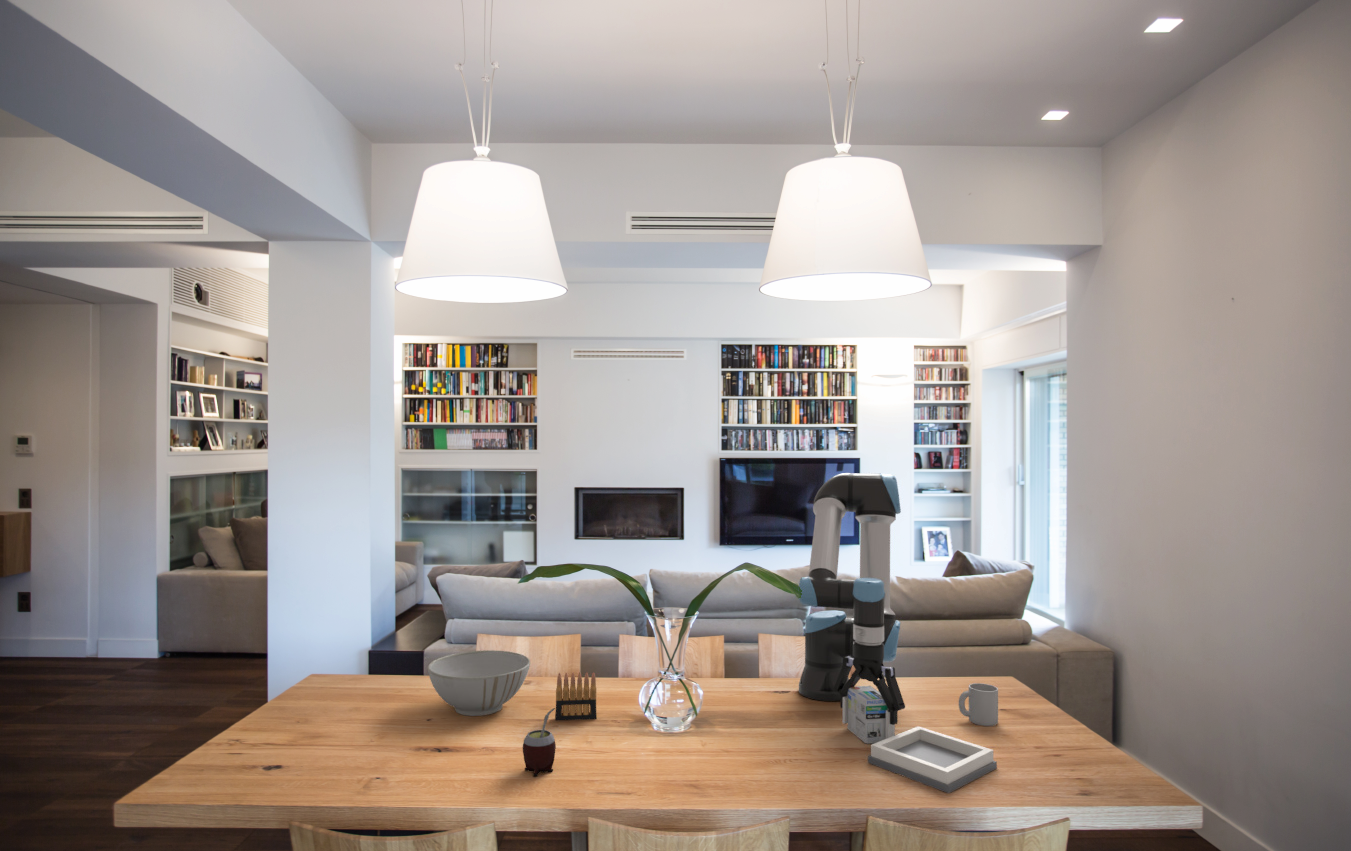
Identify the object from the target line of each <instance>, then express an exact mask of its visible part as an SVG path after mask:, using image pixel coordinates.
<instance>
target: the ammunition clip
mask: <svg viewBox="0 0 1351 851" xmlns="http://www.w3.org/2000/svg"><path fill="white" fill-rule="evenodd" d="M582 678H583V677H582V673H581V671H580V672H579V673H578V676H577V684H576V676H575V673H574V672H572V673H571V676H570V684H569V676H568V672H565V674H564V678H563V681H562V674H561V673H560V672H559V673H558V675H557V679H556V680H557V681H556V688H555V714H554V717H555V718H554V721H556V722H558V721H560V722H561V721H584V720H585V721H586V720H589V721H590V720H597V718H598V716H597V715H598V714H597V683H596V681H597V679H596V674H595V671H593V672H592V674H591V679H590V678H589V674H588V671H586V672H585V673H584V679H582ZM589 680H590V681H589Z"/></svg>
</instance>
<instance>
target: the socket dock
mask: <svg viewBox="0 0 1351 851" xmlns="http://www.w3.org/2000/svg"><path fill="white" fill-rule="evenodd" d="M867 763H868V764H871V765H873V766H876V767H879V768H881V769H884V770H886V771H889V772H891V773H894V774H896V773H897V775H899V774H900V775H899V776H902V775H903V776H902V777H904V776H905V777H904V778H907V777H908V778H907V779H910V780H913V781H915V782H918V783H921V784H922V785H926V786H928V787H931V788H934V789H937V790H940V791H942V792H945V793H947V794H951V793H952V792H954V791H956V790H958V789H959V788H961V787H963V786H965V785H967V784H969V783H971V782H973V781H975V780H977V779H979V778H981V777H982V776H985V775H987V774H988V773H990V772H992V771H994V770H996V769H998V768H997V767H998V764H997V761H996V760H994V749H992V748H988V747H985V746H982V745H979V744H976V743H972V742H970V741H966V740H963V739H960V738H957V737H953V736H951V735H948V734H944V733H941V732H937V731H936V730H932V729H928V728H925V727H923V726H919V725H918V726H914V727H912V728H910V729H908V730H905V731H903V732H900V733H898V734H895V736H892V737H890V738H887V739H885V740H882V741H880V742H877V743H871V745H870V754H869V755H867Z"/></svg>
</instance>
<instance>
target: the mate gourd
mask: <svg viewBox="0 0 1351 851" xmlns="http://www.w3.org/2000/svg"><path fill="white" fill-rule="evenodd" d="M553 711H556V707H554V708H552V709H551V710H549V711H548V712H547V713H546V714H545V715H544V719H543V724H542V727H541V729H536V730H532V731H530V732H528V733H527V734H526V736H525V737H524V739H523V742H522V743H523V744H522V754H523V761H524V764H525V765H524V766H525V767H524V772H534V773H533V775H532V777H533V778H537V777H538V776H539V774H540V773H553V771H554V769H553V766H554V762H555V757H556V756H555V755H556V749H557V746H556V739H555V737H554V734H552V732H551V731H550V730H546V726H547V721H548V720H549V717H550V716H549V715H550V714H551V713H552V712H553Z"/></svg>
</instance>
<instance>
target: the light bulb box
mask: <svg viewBox="0 0 1351 851" xmlns="http://www.w3.org/2000/svg"><path fill="white" fill-rule="evenodd" d="M886 710H889V709H888V707H887V705H886V703H885V702H884V700H883V698H882V696H881V694H880V692H879V690H878V689H877V688H875V687H873V686H871V685H861V686H860V685H857V686H856V685H855V686H854V687H850V688H849V689H848V723H847V730H849V731H850V732H851V733H852V734H854V735H855V736H856V737H857V738H858V739H859V740H861V741H862V742H863V743H864V744H867V745H868V744H875V743H877V742H880V741H882V740H885V739H887V738H886Z"/></svg>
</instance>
